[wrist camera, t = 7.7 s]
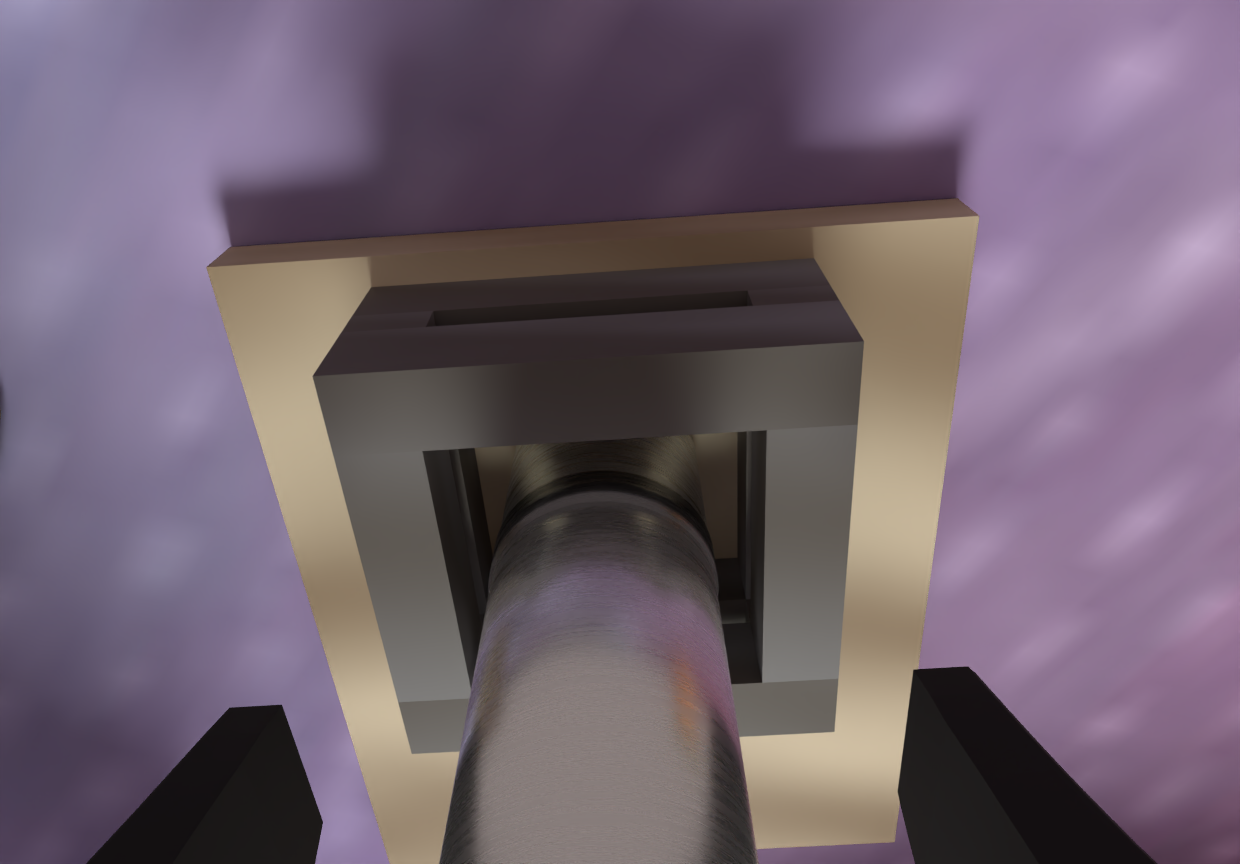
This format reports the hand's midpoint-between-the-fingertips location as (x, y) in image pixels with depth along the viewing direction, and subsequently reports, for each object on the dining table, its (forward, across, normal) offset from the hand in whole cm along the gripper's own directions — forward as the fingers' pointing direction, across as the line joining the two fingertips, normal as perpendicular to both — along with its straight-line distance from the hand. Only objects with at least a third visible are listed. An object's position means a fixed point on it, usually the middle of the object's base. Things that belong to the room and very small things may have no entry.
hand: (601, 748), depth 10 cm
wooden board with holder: (+7, 0, +3) cm, 8 cm away
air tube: (+6, 0, 0) cm, 6 cm away
